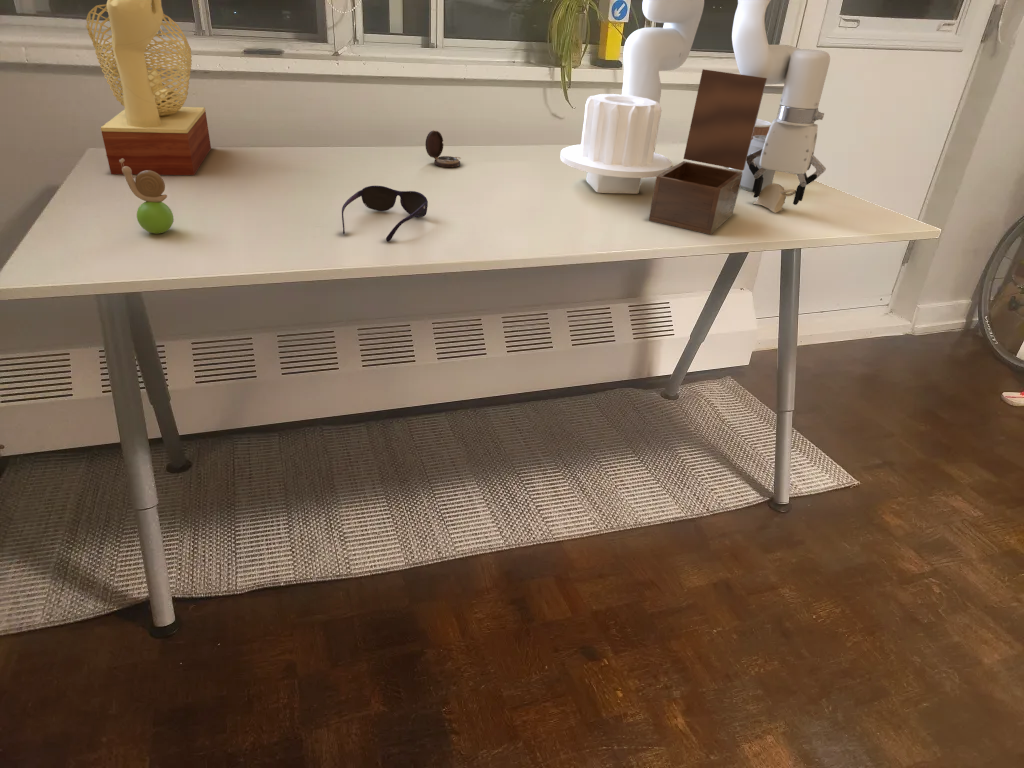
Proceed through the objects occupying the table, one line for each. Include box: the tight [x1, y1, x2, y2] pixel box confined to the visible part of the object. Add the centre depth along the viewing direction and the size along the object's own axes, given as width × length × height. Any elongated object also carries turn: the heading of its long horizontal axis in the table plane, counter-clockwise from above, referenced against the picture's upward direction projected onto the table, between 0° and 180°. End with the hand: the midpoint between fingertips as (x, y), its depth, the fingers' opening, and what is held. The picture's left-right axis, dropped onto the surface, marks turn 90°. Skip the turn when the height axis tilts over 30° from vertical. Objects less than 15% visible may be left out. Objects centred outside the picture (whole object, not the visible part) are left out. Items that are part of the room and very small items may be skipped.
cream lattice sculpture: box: [85, 0, 212, 176], centre depth 146 cm, size 25×18×35 cm
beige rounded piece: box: [752, 182, 796, 214], centre depth 155 cm, size 4×8×5 cm, turn 26°
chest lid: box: [683, 69, 767, 170], centre depth 146 cm, size 18×13×6 cm
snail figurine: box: [119, 158, 174, 235], centre depth 116 cm, size 5×6×12 cm
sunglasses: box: [341, 185, 429, 242], centre depth 128 cm, size 14×16×5 cm
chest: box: [648, 160, 743, 235], centre depth 145 cm, size 17×13×9 cm
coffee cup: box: [728, 118, 772, 172], centre depth 184 cm, size 10×10×12 cm
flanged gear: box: [559, 93, 673, 195], centre depth 158 cm, size 25×25×19 cm
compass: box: [424, 129, 462, 168], centre depth 168 cm, size 8×8×7 cm
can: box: [740, 135, 776, 193], centre depth 167 cm, size 8×8×12 cm
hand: (776, 199), depth 155 cm, fingers closed on beige rounded piece, 7 cm apart
